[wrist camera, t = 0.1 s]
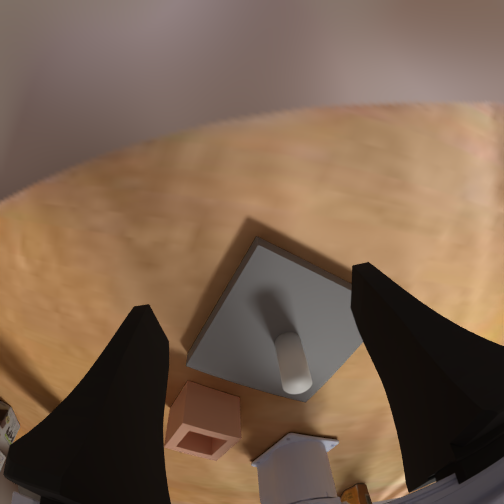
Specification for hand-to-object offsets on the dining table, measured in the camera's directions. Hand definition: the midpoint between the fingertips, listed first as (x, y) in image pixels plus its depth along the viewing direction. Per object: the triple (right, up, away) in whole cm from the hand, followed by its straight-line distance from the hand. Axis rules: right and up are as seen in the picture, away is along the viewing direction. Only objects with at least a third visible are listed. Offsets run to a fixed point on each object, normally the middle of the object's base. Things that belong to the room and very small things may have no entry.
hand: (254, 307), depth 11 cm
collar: (-5, -13, +17) cm, 22 cm away
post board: (+3, -4, +14) cm, 15 cm away
